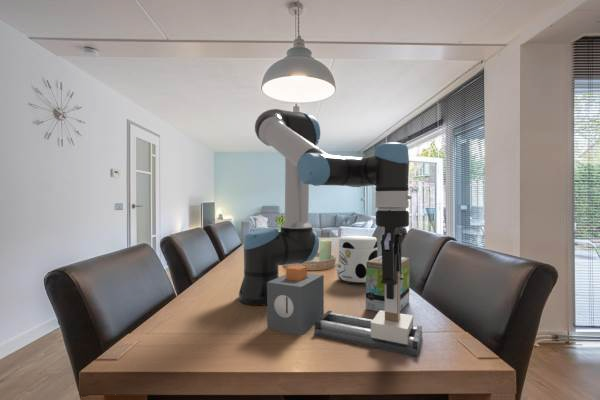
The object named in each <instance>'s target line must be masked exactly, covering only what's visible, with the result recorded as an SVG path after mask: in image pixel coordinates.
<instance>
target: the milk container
mask: <svg viewBox="0 0 600 400" xmlns="http://www.w3.org/2000/svg"><path fill="white" fill-rule="evenodd" d="M376 257H378V239H377V237H375V236H370V235H368V236H367V235H343V236H339V238H338V259H337V260H338V261H337V264H336V275H337V278H338V279H339V280H340V281H342V282H344V283H348V284H351V285H366V262H367V261H369V260H372V259H374V258H376Z"/></svg>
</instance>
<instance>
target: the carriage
mask: <svg viewBox="0 0 600 400" xmlns="http://www.w3.org/2000/svg"><path fill="white" fill-rule="evenodd" d="M396 284H397V314H396V313H390V312H385V311H382V310H380V311H379V312H377V313H376V314H375V316H374V317H373V319H371V320H372V322H371V337H372V338H377V339H382V340H387V341H392V342H397V343H402V344H407V345H408V336H409V334H410V331H411V328H412V327H414V315H413V314H407V313H406V314H405V313H401V311H400V271H396Z"/></svg>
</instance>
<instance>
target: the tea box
mask: <svg viewBox="0 0 600 400" xmlns="http://www.w3.org/2000/svg"><path fill="white" fill-rule="evenodd" d="M410 263H411V262H410V257H404V256H401V272H402V274H401V275H400V276H403V280H400V312H401V311H402V310H403V308H404V307H405V306H406V305H407V304H408V303H409V302H410V278H411V277H410V275H411V274H410V273H411V272H410V268H411V264H410ZM381 281H382V254H381V255H379V256H378V255H377V257H376V258H374V259H372V260H369V261H367V262H366V284H365V310H369V311H373V312H377V313H378V312H379V311H380V310H382V311H385V284H382V283H381Z"/></svg>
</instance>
